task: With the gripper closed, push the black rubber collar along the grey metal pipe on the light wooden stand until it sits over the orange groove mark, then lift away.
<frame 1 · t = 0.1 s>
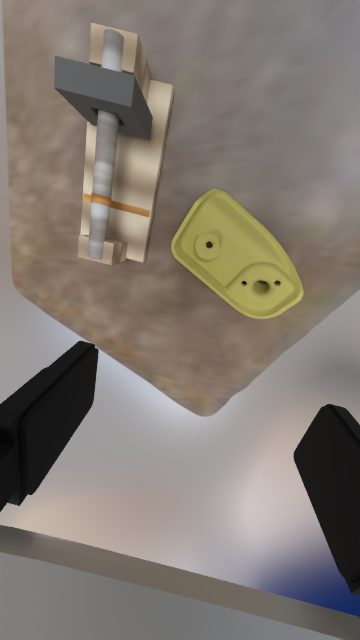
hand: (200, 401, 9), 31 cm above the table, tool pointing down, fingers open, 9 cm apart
plastic component: (232, 259, 37), on the table
collar: (110, 104, 25), point 7 cm above the table, slide at 0.0 cm
pipe stand: (123, 178, 34), on the table
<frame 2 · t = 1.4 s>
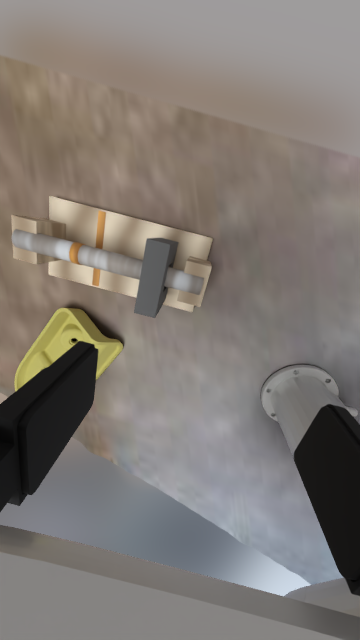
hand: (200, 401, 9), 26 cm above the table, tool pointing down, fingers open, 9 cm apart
plastic component: (73, 352, 41), on the table
collar: (158, 274, 27), point 7 cm above the table, slide at 0.0 cm
pipe stand: (128, 256, 33), on the table
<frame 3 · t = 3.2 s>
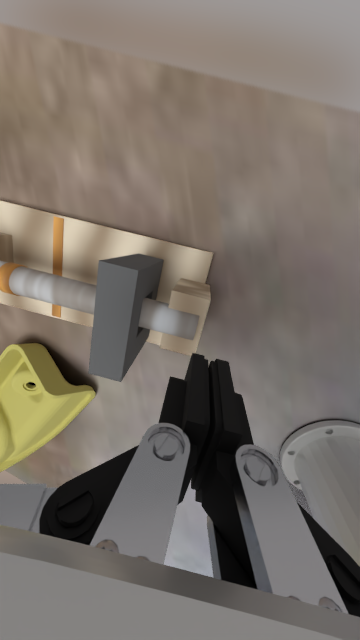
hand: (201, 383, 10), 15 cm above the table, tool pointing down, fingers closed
plastic component: (34, 394, 32), on the table
collar: (131, 309, 18), point 7 cm above the table, slide at 0.0 cm
pipe stand: (100, 277, 25), on the table
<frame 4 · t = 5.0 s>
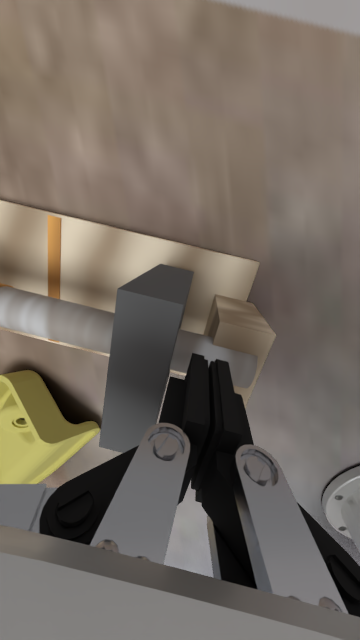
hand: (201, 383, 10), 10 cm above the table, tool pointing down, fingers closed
plastic component: (25, 425, 27), on the table
collar: (154, 343, 13), point 7 cm above the table, slide at 0.2 cm, touching gripper
pipe stand: (108, 292, 19), on the table
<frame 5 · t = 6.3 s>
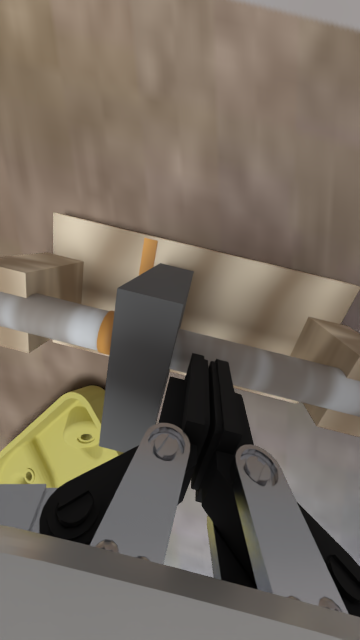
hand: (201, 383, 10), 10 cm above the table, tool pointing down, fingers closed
plastic component: (78, 438, 27), on the table
collar: (154, 343, 13), point 7 cm above the table, slide at 7.6 cm, touching gripper
pipe stand: (188, 312, 19), on the table
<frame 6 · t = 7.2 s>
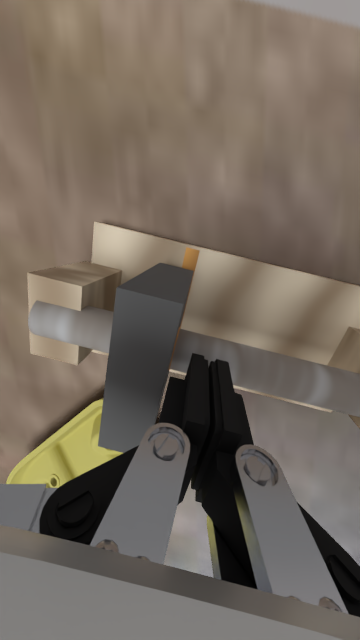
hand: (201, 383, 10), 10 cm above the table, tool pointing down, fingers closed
plastic component: (100, 443, 27), on the table
collar: (154, 343, 13), point 7 cm above the table, slide at 10.8 cm, touching gripper
pipe stand: (223, 320, 19), on the table
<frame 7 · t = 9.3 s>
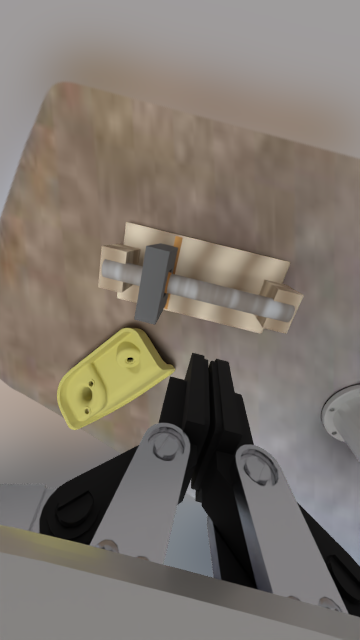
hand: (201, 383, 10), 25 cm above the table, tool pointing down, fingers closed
plastic component: (119, 367, 41), on the table
collar: (158, 280, 27), point 7 cm above the table, slide at 10.9 cm
pipe stand: (198, 279, 33), on the table
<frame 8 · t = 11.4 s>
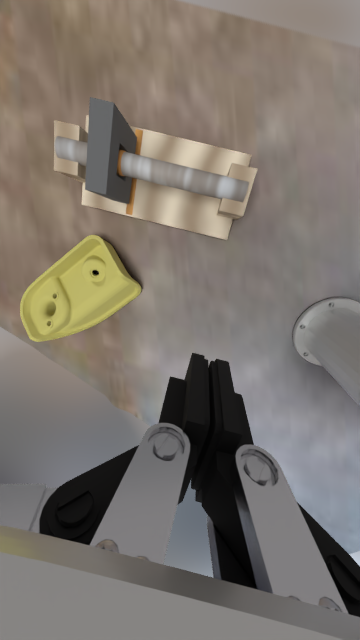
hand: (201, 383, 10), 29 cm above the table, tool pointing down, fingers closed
plastic component: (86, 287, 41), on the table
collar: (113, 161, 26), point 7 cm above the table, slide at 10.9 cm
pipe stand: (162, 183, 33), on the table
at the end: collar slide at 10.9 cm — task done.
